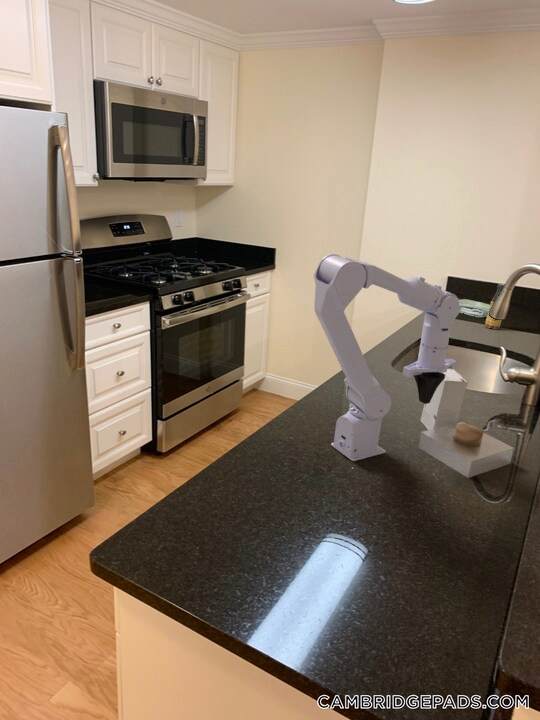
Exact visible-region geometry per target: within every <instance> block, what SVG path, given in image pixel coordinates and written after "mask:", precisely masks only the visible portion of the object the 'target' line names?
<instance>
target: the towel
mask: <svg viewBox="0 0 540 720" xmlns="http://www.w3.org/2000/svg"><path fill="white" fill-rule="evenodd" d="M458 300H459V304H460V306H461V310H460V312H459V314H463V313H464V315H466V316H467V315H468V316H470V317H471V316H472V317H474V316H475V318H487V314H488V311H489V307H490V303H485V302H480V301H475V300H471V299H468V298H467V299H466V298H464V299H458Z"/></svg>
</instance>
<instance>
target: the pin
mask: <svg viewBox="0 0 540 720" xmlns="http://www.w3.org/2000/svg"><path fill="white" fill-rule="evenodd" d="M483 432H484V431H483V430H482V429H481V428H479V427H478V426H475V425H473V424H469V423H468V424H467V423H466V424H459V425H457V426H456V428H455V433H454V439H455V440H456V441H457V442H458V443H461V444H463V445H467V446H479V445H480V444H481V441H482V437H483Z"/></svg>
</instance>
